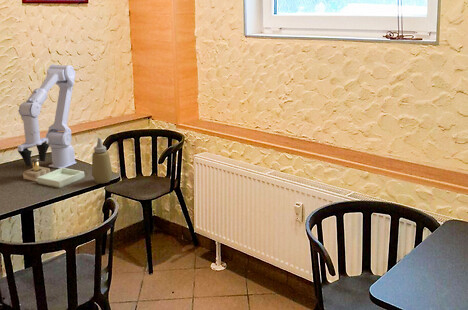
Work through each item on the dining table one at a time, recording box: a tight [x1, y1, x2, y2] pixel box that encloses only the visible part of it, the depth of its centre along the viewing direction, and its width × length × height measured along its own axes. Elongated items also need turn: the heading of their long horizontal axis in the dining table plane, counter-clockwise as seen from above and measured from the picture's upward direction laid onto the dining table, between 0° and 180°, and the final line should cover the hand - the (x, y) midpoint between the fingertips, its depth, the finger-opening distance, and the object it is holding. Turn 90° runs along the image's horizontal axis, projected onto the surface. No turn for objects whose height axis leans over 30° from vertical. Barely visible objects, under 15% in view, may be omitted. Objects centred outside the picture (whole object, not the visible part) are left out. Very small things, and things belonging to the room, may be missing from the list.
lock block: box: [22, 166, 51, 182], centre depth 230 cm, size 8×7×3 cm
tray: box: [36, 167, 86, 189], centre depth 226 cm, size 14×12×2 cm
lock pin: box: [31, 157, 40, 172], centre depth 229 cm, size 3×3×8 cm
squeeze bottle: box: [91, 137, 113, 184], centre depth 222 cm, size 8×8×18 cm
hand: (35, 163), depth 228 cm, fingers open, 7 cm apart
